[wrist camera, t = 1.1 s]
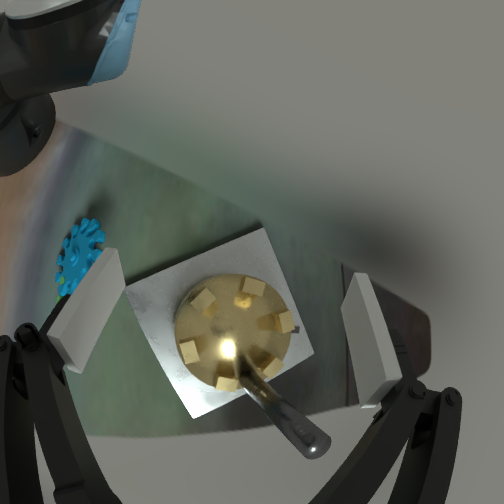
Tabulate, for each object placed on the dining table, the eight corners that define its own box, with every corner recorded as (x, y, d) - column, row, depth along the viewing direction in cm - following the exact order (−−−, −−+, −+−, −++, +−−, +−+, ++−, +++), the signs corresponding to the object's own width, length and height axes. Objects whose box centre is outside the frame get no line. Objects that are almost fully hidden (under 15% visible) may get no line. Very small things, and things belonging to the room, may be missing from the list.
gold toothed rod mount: (160, 289, 32) (164, 312, 14) (269, 261, 36) (369, 253, 19) (193, 396, 32) (232, 492, 14) (292, 362, 36) (387, 415, 19)
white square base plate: (124, 287, 33) (121, 288, 30) (260, 228, 40) (268, 225, 37) (192, 414, 34) (195, 424, 32) (310, 351, 41) (319, 355, 38)
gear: (78, 204, 30) (107, 233, 25) (110, 223, 35) (146, 253, 30) (42, 279, 29) (63, 324, 24) (75, 290, 34) (104, 333, 29)
